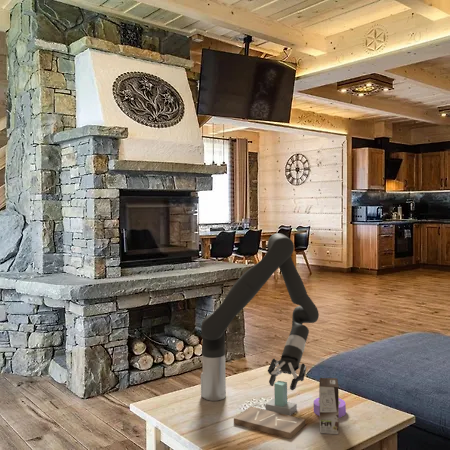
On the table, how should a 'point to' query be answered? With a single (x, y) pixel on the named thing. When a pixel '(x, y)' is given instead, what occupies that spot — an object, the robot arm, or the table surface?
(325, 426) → the coffee box
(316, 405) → the masking tape
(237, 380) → the table surface
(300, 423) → the walnut board
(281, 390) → the block
